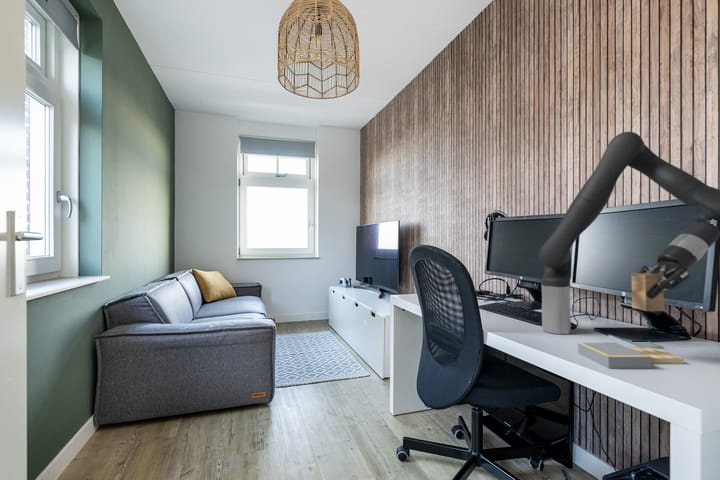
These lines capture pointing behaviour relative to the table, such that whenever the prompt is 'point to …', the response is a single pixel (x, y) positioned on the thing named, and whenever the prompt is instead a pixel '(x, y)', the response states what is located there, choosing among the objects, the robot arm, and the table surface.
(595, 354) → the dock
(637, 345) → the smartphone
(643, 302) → the wooden block
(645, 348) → the pallet
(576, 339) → the table surface
